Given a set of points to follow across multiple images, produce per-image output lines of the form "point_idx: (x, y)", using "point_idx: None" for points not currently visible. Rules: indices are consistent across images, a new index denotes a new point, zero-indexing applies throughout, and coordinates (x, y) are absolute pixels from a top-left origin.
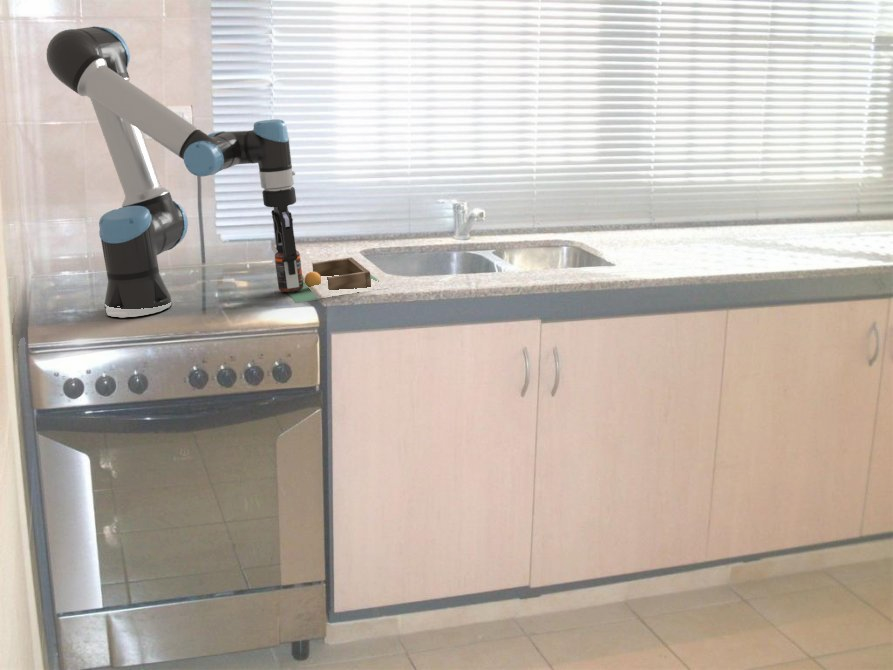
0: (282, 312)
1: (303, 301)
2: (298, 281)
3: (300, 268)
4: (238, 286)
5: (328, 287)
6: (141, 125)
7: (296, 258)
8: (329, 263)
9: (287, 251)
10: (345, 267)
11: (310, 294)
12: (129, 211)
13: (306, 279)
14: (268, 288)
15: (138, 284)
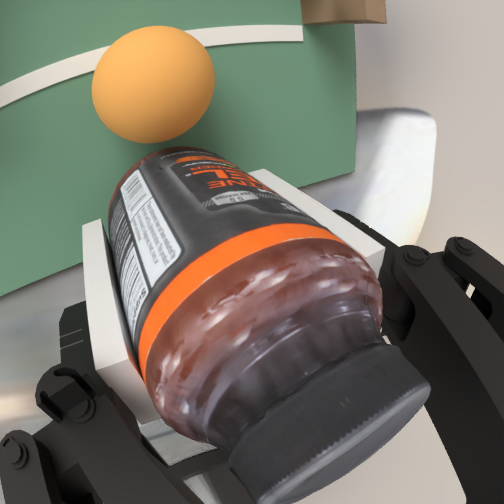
0: (390, 208)
1: (354, 144)
2: (281, 179)
3: (260, 187)
4: (25, 412)
5: (327, 21)
6: None
7: (461, 240)
8: None
9: (485, 317)
10: None
11: (273, 106)
12: None
13: (189, 128)
14: (50, 326)
15: None
